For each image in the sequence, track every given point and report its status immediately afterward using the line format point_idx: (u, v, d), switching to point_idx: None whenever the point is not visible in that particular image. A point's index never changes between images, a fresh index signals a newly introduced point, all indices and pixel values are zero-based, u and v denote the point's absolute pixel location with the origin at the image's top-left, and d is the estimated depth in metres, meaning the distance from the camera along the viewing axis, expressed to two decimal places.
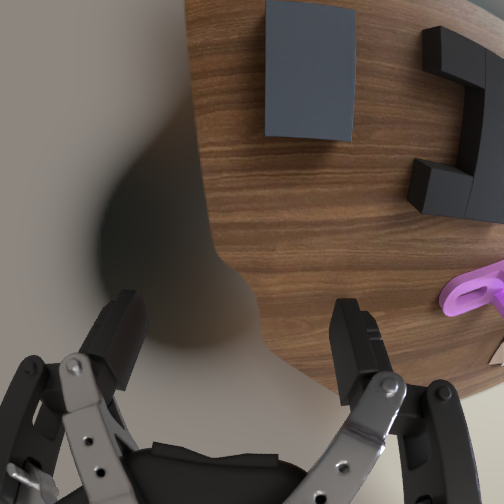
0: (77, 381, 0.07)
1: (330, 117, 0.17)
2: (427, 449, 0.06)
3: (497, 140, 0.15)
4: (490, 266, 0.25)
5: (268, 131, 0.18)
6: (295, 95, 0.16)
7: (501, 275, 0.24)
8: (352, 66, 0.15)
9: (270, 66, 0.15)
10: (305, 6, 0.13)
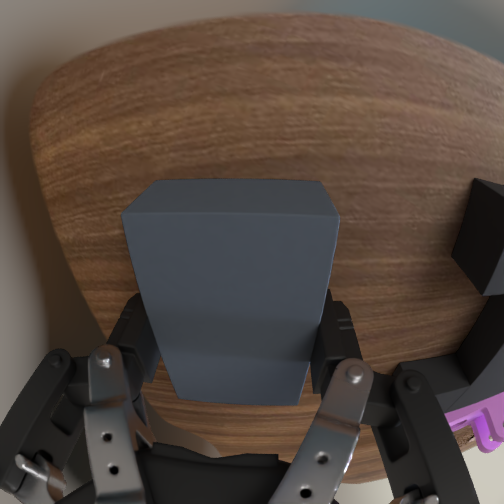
0: (106, 373, 0.07)
1: (265, 390, 0.12)
2: (406, 438, 0.07)
3: None
4: None
5: (182, 396, 0.12)
6: (209, 372, 0.11)
7: (484, 410, 0.19)
8: (310, 336, 0.09)
9: (161, 338, 0.10)
10: (209, 225, 0.07)
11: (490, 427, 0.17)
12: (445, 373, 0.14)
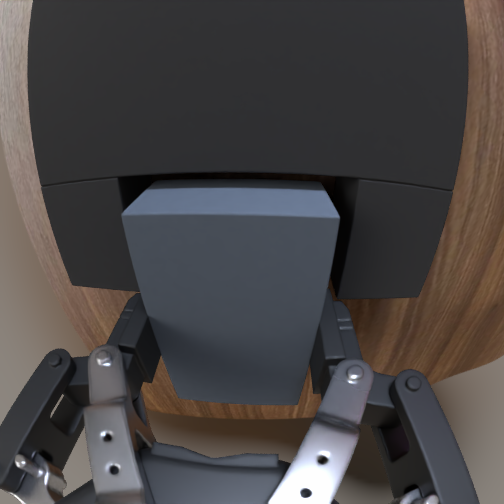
0: (106, 374, 0.07)
1: (265, 390, 0.12)
2: (406, 438, 0.07)
3: (236, 97, 0.07)
4: None
5: (182, 396, 0.12)
6: (209, 372, 0.11)
7: None
8: (310, 336, 0.09)
9: (161, 338, 0.10)
10: (209, 225, 0.07)
11: None
12: (341, 210, 0.11)
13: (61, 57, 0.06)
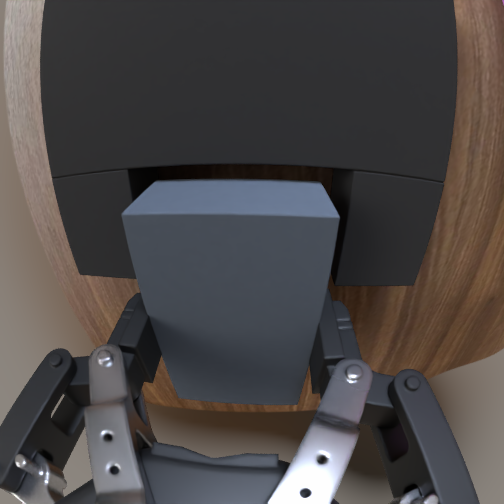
0: (106, 373, 0.07)
1: (266, 389, 0.12)
2: (405, 438, 0.07)
3: (239, 95, 0.08)
4: None
5: (182, 396, 0.12)
6: (209, 371, 0.11)
7: None
8: (310, 335, 0.09)
9: (161, 338, 0.10)
10: (209, 225, 0.07)
11: None
12: (338, 201, 0.11)
13: (74, 56, 0.07)
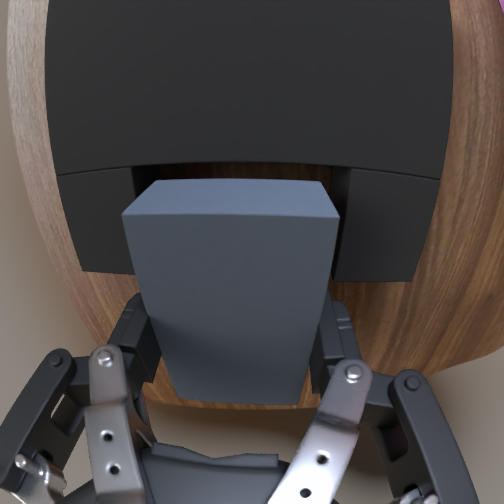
0: (106, 373, 0.07)
1: (265, 390, 0.12)
2: (405, 438, 0.07)
3: (240, 95, 0.08)
4: None
5: (182, 396, 0.12)
6: (209, 371, 0.11)
7: None
8: (309, 335, 0.09)
9: (161, 338, 0.10)
10: (209, 225, 0.07)
11: None
12: (336, 198, 0.11)
13: (78, 56, 0.07)
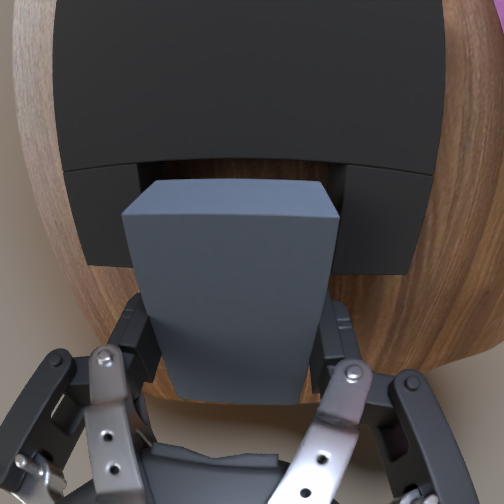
0: (106, 373, 0.07)
1: (265, 390, 0.12)
2: (405, 438, 0.07)
3: (241, 95, 0.09)
4: (503, 22, 0.06)
5: (182, 396, 0.12)
6: (209, 371, 0.11)
7: None
8: (310, 335, 0.09)
9: (161, 338, 0.10)
10: (209, 225, 0.07)
11: None
12: (333, 194, 0.12)
13: (86, 57, 0.07)
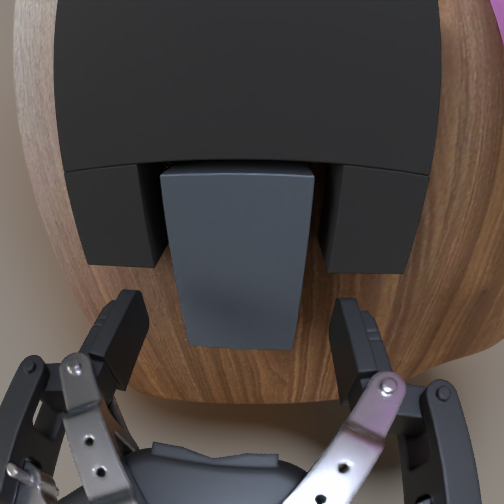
0: (78, 381, 0.07)
1: (264, 331, 0.15)
2: (427, 449, 0.06)
3: (239, 97, 0.09)
4: (500, 23, 0.06)
5: (193, 342, 0.16)
6: (218, 312, 0.14)
7: None
8: (298, 274, 0.13)
9: (181, 280, 0.13)
10: (224, 182, 0.11)
11: None
12: (330, 194, 0.12)
13: (87, 59, 0.08)
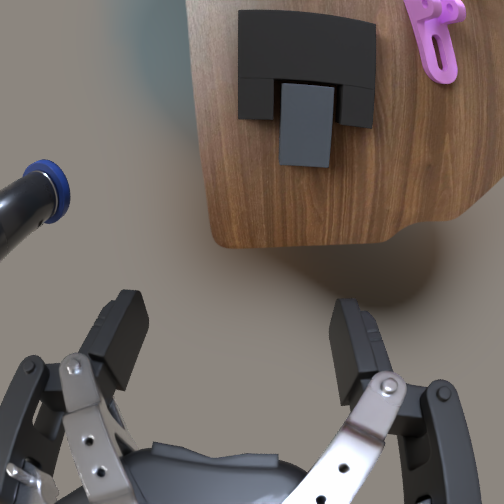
0: (77, 381, 0.07)
1: (316, 154, 0.32)
2: (427, 449, 0.06)
3: (310, 61, 0.26)
4: (414, 31, 0.23)
5: (282, 162, 0.32)
6: (297, 142, 0.31)
7: (421, 21, 0.21)
8: (330, 124, 0.30)
9: (283, 125, 0.30)
10: (305, 87, 0.27)
11: (431, 18, 0.19)
12: (339, 98, 0.29)
13: (256, 39, 0.25)
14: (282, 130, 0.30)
